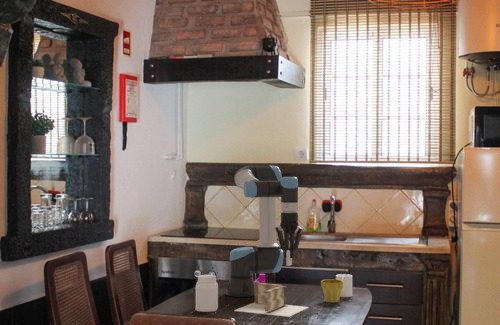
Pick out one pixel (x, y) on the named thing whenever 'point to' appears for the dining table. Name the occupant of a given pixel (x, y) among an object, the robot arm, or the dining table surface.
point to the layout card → (280, 311)
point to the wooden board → (275, 298)
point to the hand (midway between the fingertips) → (289, 265)
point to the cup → (345, 284)
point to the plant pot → (332, 289)
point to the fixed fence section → (262, 291)
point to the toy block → (261, 278)
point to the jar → (206, 293)
